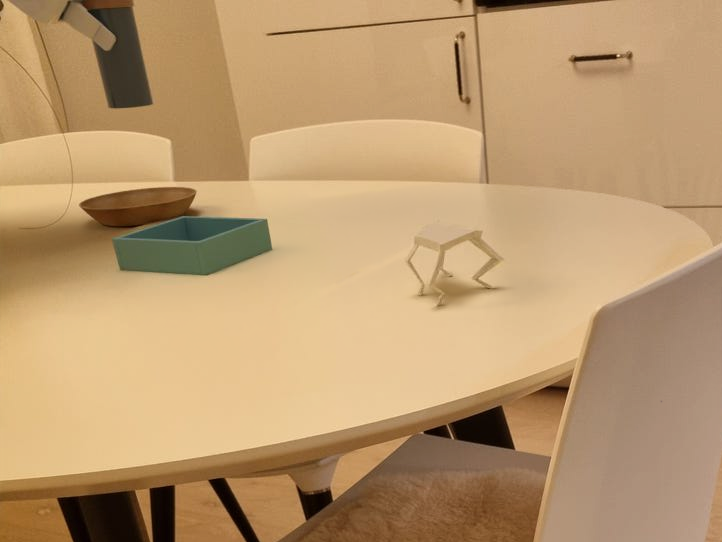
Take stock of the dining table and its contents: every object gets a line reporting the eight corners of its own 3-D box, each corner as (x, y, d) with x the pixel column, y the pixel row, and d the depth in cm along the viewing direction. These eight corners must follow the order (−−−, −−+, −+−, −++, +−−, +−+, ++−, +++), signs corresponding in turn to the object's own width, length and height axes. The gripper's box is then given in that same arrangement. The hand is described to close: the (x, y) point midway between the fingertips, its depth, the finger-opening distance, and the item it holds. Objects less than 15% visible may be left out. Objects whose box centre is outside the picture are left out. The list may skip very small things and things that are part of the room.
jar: (96, 109, 106) (68, -1, 100) (129, 103, 110) (105, -3, 104) (132, 108, 104) (107, -4, 98) (165, 102, 108) (142, -6, 102)
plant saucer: (83, 235, 116) (77, 212, 114) (85, 215, 127) (79, 194, 126) (205, 221, 119) (200, 198, 117) (196, 203, 131) (192, 182, 129)
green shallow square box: (120, 274, 97) (111, 238, 95) (190, 249, 105) (183, 216, 103) (207, 280, 93) (199, 242, 91) (273, 253, 101) (267, 218, 99)
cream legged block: (517, 295, 82) (515, 235, 79) (426, 310, 80) (420, 248, 77) (471, 267, 91) (468, 212, 88) (388, 279, 89) (382, 223, 86)
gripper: (26, -31, 108) (133, 63, 113) (-53, -36, 91) (78, 75, 96) (52, -83, 105) (161, 16, 111) (-24, -98, 88) (109, 20, 94)
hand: (122, 44), depth 103 cm, fingers closed on jar, 5 cm apart
